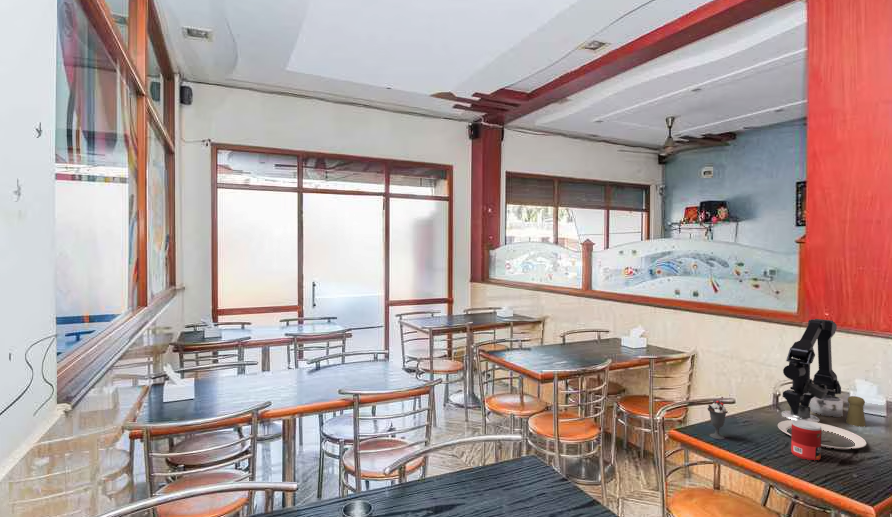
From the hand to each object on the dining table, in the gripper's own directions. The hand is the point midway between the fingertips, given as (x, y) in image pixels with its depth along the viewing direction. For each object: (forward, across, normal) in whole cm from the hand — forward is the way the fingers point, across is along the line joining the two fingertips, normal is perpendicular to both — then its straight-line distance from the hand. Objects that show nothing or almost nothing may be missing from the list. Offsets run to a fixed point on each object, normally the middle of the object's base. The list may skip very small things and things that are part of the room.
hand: (800, 412), depth 190 cm
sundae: (+2, -51, +7) cm, 52 cm away
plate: (+2, -18, -13) cm, 22 cm away
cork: (+2, +11, -15) cm, 19 cm away
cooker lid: (+2, 0, 0) cm, 2 cm away
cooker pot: (+2, +17, -3) cm, 17 cm away
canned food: (+2, -41, -17) cm, 44 cm away
